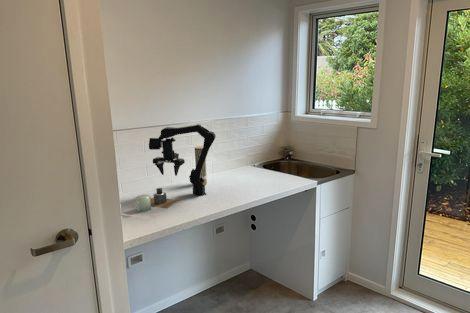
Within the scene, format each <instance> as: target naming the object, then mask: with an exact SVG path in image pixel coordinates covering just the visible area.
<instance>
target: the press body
mask: <svg viewBox="0 0 470 313" xmlns="http://www.w3.org/2000/svg"><path fill="white" fill-rule="evenodd" d="M163 193H164V195H161V196H157V195H156V193H154V194H153V197H152V198H154V204H157V205H160V204H165V203H167V199H168V198H167V193H166V192H163Z"/></svg>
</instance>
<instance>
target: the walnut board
mask: <svg viewBox="0 0 470 313" xmlns="http://www.w3.org/2000/svg"><path fill="white" fill-rule="evenodd" d="M166 199H167V203H165V204H160V205H157V204H154V197H152V198H150V202H151V208H161V209H169V208H171V207H172V206H174V205H176V204H178V203H179V202H181V201H182V200H181V199H173V198H166Z"/></svg>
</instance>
